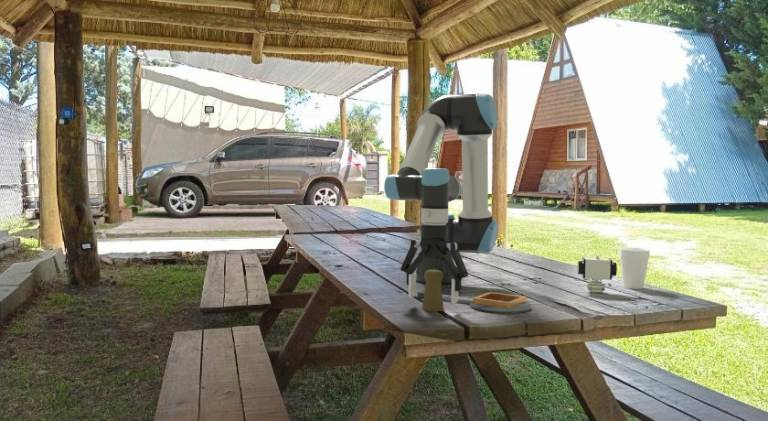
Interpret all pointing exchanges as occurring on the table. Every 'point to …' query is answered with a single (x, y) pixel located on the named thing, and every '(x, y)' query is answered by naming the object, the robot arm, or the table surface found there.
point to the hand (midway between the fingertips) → (432, 299)
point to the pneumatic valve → (596, 272)
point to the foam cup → (634, 266)
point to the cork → (433, 291)
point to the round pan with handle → (492, 302)
